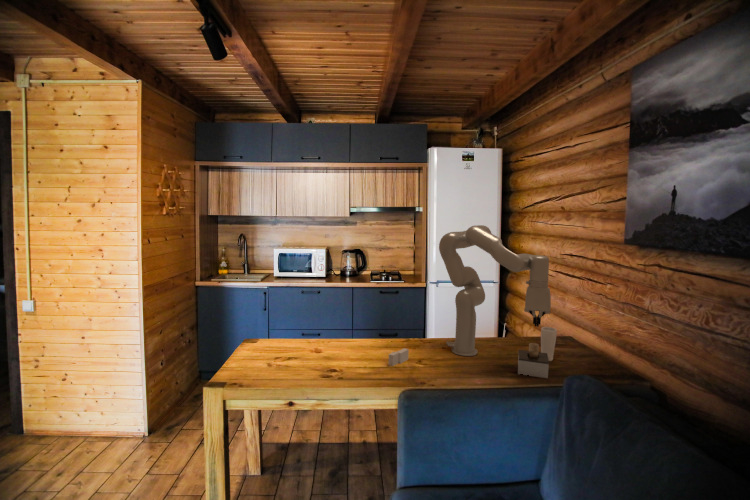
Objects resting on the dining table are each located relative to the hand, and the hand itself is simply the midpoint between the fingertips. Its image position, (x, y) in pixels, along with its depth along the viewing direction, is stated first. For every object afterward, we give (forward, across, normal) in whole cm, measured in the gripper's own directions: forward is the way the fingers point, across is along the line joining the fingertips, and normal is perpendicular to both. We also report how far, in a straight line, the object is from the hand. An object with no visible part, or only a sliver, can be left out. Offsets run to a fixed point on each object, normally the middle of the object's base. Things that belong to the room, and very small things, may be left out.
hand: (536, 325), depth 182 cm
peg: (+14, -1, 0) cm, 15 cm away
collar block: (+21, -1, 0) cm, 21 cm away
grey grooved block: (+20, -59, -12) cm, 64 cm away
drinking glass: (+21, +6, +18) cm, 28 cm away
